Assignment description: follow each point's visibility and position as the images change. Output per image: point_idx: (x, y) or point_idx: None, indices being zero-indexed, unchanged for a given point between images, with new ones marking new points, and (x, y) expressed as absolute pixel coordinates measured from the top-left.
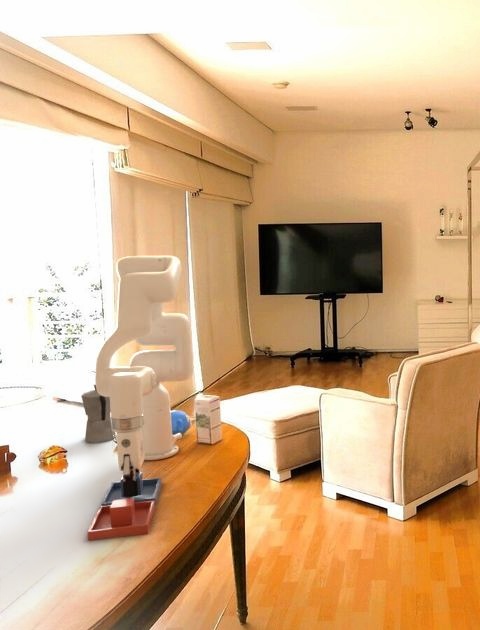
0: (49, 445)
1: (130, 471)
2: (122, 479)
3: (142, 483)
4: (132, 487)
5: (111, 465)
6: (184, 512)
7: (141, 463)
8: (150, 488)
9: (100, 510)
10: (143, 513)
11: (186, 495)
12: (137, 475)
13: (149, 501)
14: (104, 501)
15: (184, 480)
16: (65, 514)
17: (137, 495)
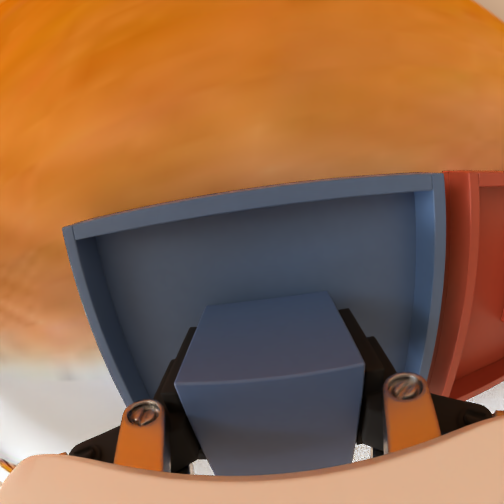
0: (4, 470)
1: (190, 458)
2: (344, 459)
3: (222, 325)
4: (386, 362)
5: (5, 414)
6: (474, 43)
7: (421, 485)
8: (159, 266)
9: (474, 391)
10: (501, 215)
11: (279, 23)
12: (277, 403)
13: (477, 200)
14: None
15: (50, 112)
16: None
17: (347, 308)
